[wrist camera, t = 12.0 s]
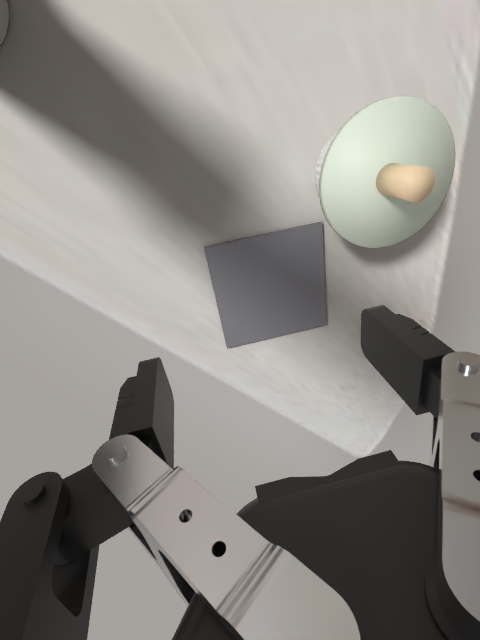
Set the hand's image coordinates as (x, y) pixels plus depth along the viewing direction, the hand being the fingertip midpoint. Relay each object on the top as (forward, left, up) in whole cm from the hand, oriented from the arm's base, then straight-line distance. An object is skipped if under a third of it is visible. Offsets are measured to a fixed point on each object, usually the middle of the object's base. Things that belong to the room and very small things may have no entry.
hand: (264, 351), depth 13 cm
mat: (+13, +7, -33) cm, 36 cm away
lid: (0, +20, -26) cm, 33 cm away
